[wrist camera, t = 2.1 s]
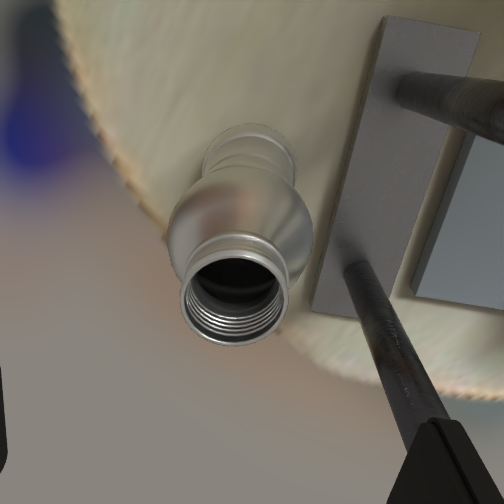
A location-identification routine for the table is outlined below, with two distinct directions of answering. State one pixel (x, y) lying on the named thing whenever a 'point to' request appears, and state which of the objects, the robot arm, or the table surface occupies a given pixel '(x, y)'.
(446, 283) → the switch board
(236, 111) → the table surface
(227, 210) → the silver bottle
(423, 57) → the cord gate
